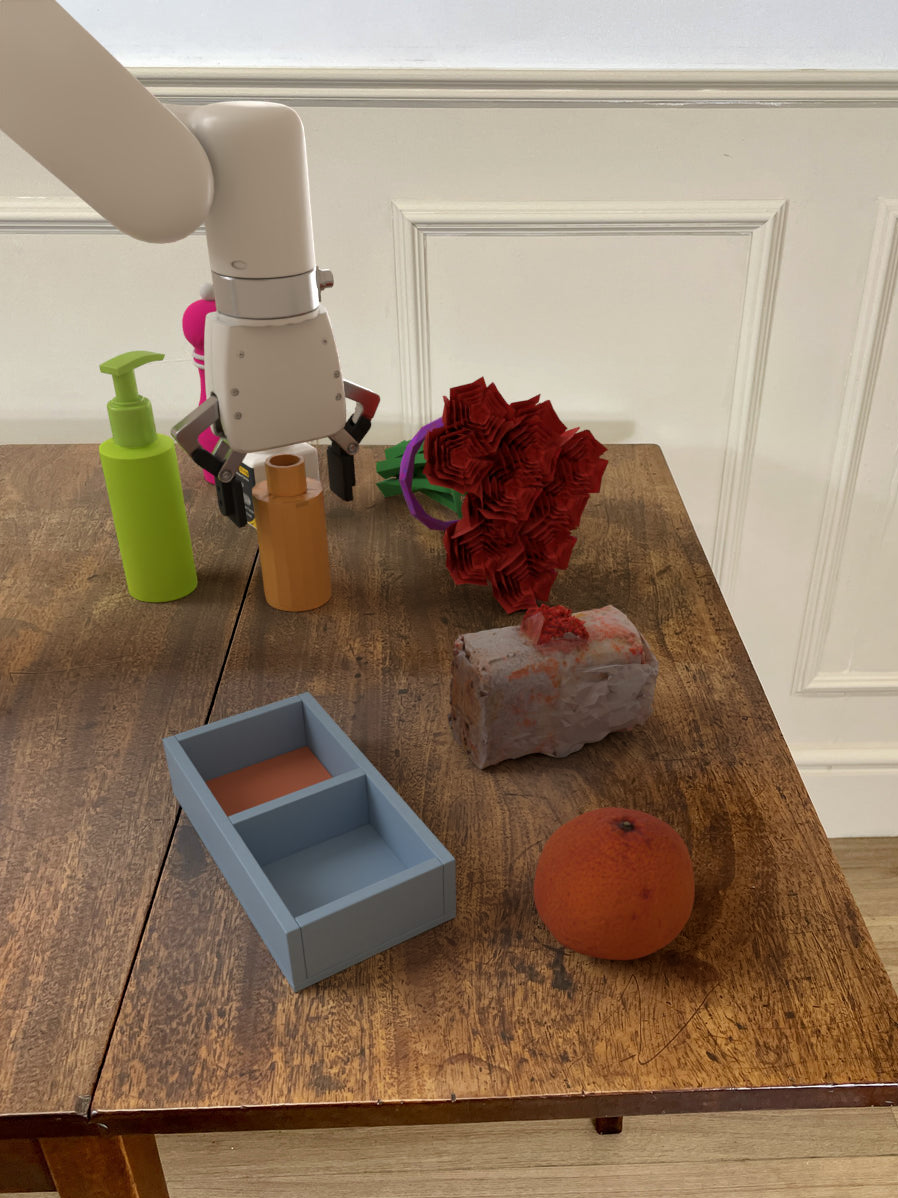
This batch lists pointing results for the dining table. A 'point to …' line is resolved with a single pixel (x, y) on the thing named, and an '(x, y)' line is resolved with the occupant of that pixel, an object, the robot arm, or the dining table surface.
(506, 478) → the bouquet
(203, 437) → the pepper mill
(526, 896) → the dining table surface
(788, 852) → the dining table surface
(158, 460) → the soap dispenser
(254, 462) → the medicine bottle
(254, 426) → the robot arm
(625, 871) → the fruit
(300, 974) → the tray
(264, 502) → the bottle
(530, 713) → the food item
